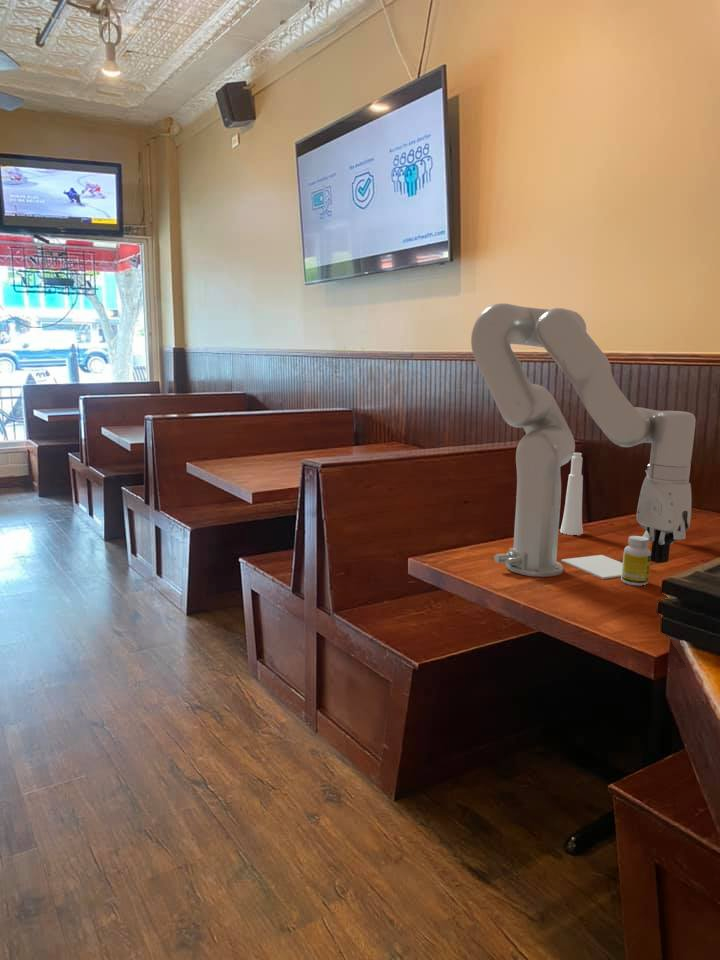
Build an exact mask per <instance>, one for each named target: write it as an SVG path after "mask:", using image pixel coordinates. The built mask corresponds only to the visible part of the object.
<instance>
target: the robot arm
mask: <svg viewBox="0 0 720 960" xmlns="http://www.w3.org/2000/svg"><path fill="white" fill-rule="evenodd" d="M470 336H471V337H470V339H471V340H470V344H471V346H470V347H471V352H472V354H473V357H474V360H475V362H476V365H477V367H478V369H479V371H480V372H481V375H482V376H483V378H484V380H485V382H486V385H487V388H488V389H489V391H490V394H491V396H492V398H493V399H494V402H495V404H496V406H497V408H498V411H499V413H500V416H501V417H502V419H503V420H504V421H505V423H506V424H508V426H511V427H513V428H517V429H519V428H521V429H522V428H523V430H524V432H525V434H524V435H523V437H522V438H521V439H520V440H519V442H518V444H517V448H516V450H515V451H516V452H515V464H516V465H515V466H516V496H515V501H516V502H515V515H514V516H515V517H514V533H513V547H509V549H508V551H507V552H506V553H496V554H494V555H493V556H494V557H493V559H494V562H495V563H496V564H499V563H505V565H504V566H505V568H506V569H507V570H508V571H510V572H512V573H515V574H517V575H518V574H519V575H522V576H528V577H543V578H545V577H546V578H547V577H554V576H558V575H560V574H562V573H563V571H564V566H563V564H562V563H561V562H558V561H557V557H558V539H559V531H560V530H559V527H560V516H561V515H560V514H561V504H562V503H561V501H562V499H561V498H562V478H561V477H562V475H561V467H562V466H564V465H566V464H568V463H569V462H570V461H571V460H572V457H573V454H574V453H575V451H576V450H575V449H576V443H575V439H574V436H573V433H572V431H571V429H570V427H569V425H568V423H567V421H566V419H565V417H564V415H563V412H562V410H561V409H560V407H559V404H557V401H556V399H555V397H554V396H553V395H552V394H551V392H550V391H549V390H548V389H547V388H546V387H544V386H542V385H540V384H536V383H531V381H530V379H529V378H528V375H527V374H526V372H525V370H524V367H523V365H522V363H521V361H520V359H518V358H519V357H517V355H516V354H515V353H514V351H513V349H512V345H521V346H531V347H537V348H538V347H539V348H544V349H545V351H546V352H547V353H548V354H549V356H550V357H551V358H552V359H553V361H554V362H555V364H556V365H557V366H558V367H559V368H560V370H561V371H562V372H563V374H564V375H565V376H566V377H567V379H568V380H569V382H570V383H571V384H572V385H573V387H574V390H575V392H576V394H577V395H578V397H579V399H580V401H581V403H582V405H583V406H584V408H585V410H586V411H587V413H588V414H589V416H590V417H591V418H592V420H593V421H594V422H595V424H596V425H597V426H598V427H599V428H600V430H601V431H602V432H603V434H604V435H605V436H606V437H607V438H608V440H609V441H611V442H612V443H613V444H615V445H617V446H618V447H622V448H630V447H635V446H637V445H640V444H644V443H647V444H651V448H650V457H649V463H648V464H647V467H646V468H647V469H648V470H649V473H648V477H647V476H645V478H644V480H643V482H642V485H641V488H640V493H639V497H638V503H637V509H636V521H637V523H638V524H639V525H640V527H641V528H642V529H643V530H645V531H646V530H647V531H648V533H649V535H650V539H649V542H652V543H651V549H650V551H651V559H650V562H654V563H656V564H662V563H663V564H665V563H668V562H669V557H670V546H671V545H673V543H674V542H675V541H676V540H685V539H686V537H687V536H686V534H687V533H686V532H687V531H688V530H689V528H690V524H691V520H692V519H691V517H692V485H691V482H690V474H691V464H692V457H693V447H694V440H695V430H696V420H697V419H696V416H695V415H694V413H692V412H688V411H681V410H656V409H651V408H645V407H640V406H635V407H634V406H633V405H632V403H631V402H630V401H629V400H628V398H627V397H626V396H625V395H624V393H623V392H622V391H621V389H620V387H619V386H618V384H617V383H616V380H615V379H614V376H613V374H612V368H611V367H612V366H611V363H610V360H609V358H608V357H607V355H606V354H605V353H604V352H603V351H602V350H601V348H600V347H599V346H598V345H597V344H596V342H595V341H594V340H593V339H592V337H591V336H590V335H589V334H588V332H587V324H586V322H585V320H584V318H583V316H582V315H581V314H579V313H578V312H576V311H574V310H570V309H566V308H560V307H556V308H552V309H548V308H547V309H546V308H537V307H528V306H527V307H526V306H520V305H517V304H516V305H515V304H511V303H496V304H492V305H489V306H488V307H487V308H485V309H484V310H482V312H481V313H480V314H479V315H478V317H477V318H476V320H475V322H474V325H473V328H472V331H471V335H470ZM647 469H646V470H647Z"/></svg>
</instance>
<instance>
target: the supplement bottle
mask: <svg viewBox="0 0 720 960" xmlns="http://www.w3.org/2000/svg"><path fill="white" fill-rule="evenodd" d="M627 542H628V543H627V544H628V545H626V546H625V547H624V550H623V555H622V556H623V557H622V563H623V565H622V574H621V577H620V579H621V580H620V581H621V582H622V583H624V584H627V585H629V586H634V587H635V586H637V587H640V586H641V587H643V586H642V585H644V586H646V584H647V585H648V582H649V575H650V569H651V567H650V566H651V560H650V559H651V549H649V548H648V547H649V543H650V539H648V538H646V537H643V536H639V535H630V536H628V541H627Z"/></svg>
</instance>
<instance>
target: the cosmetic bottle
mask: <svg viewBox="0 0 720 960" xmlns="http://www.w3.org/2000/svg"><path fill="white" fill-rule="evenodd" d="M582 455H583V453H581V452H574V454H573V457H572V458H571V460H570V461H571V462H570V473H569V474H568V480H567V486H566V493H565V504H564V508H563V509H564V510H563V516H562V521H561V526H560V530H559V532H560V533H561V534H562V533H563V535H566V534H567V536H573V535H577V536H582V535H583V534H584V529H583V490H584V489H583V487H584V486H583V481H584V477H583V476H584V475H583V474H582V469H583V457H582ZM581 534H582V535H581Z"/></svg>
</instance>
